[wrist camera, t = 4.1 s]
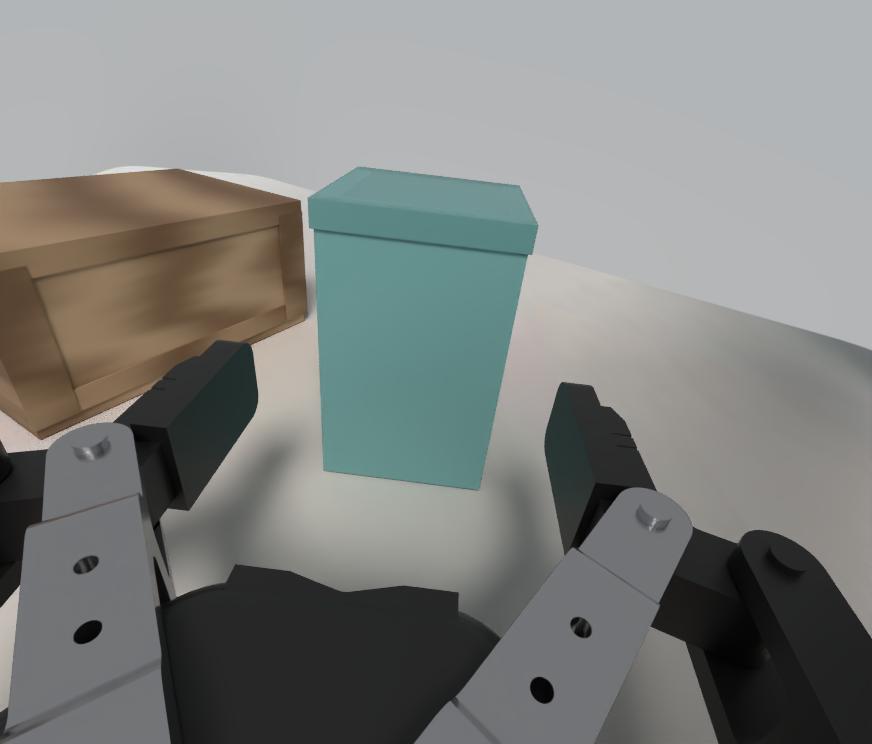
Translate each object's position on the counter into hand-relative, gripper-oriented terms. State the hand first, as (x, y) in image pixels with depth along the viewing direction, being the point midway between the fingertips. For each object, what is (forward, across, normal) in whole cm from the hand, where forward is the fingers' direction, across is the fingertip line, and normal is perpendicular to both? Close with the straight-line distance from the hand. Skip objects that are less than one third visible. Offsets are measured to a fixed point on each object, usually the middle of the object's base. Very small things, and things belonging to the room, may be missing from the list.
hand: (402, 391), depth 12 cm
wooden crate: (+11, +15, +6) cm, 20 cm away
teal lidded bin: (+6, 0, +6) cm, 8 cm away
